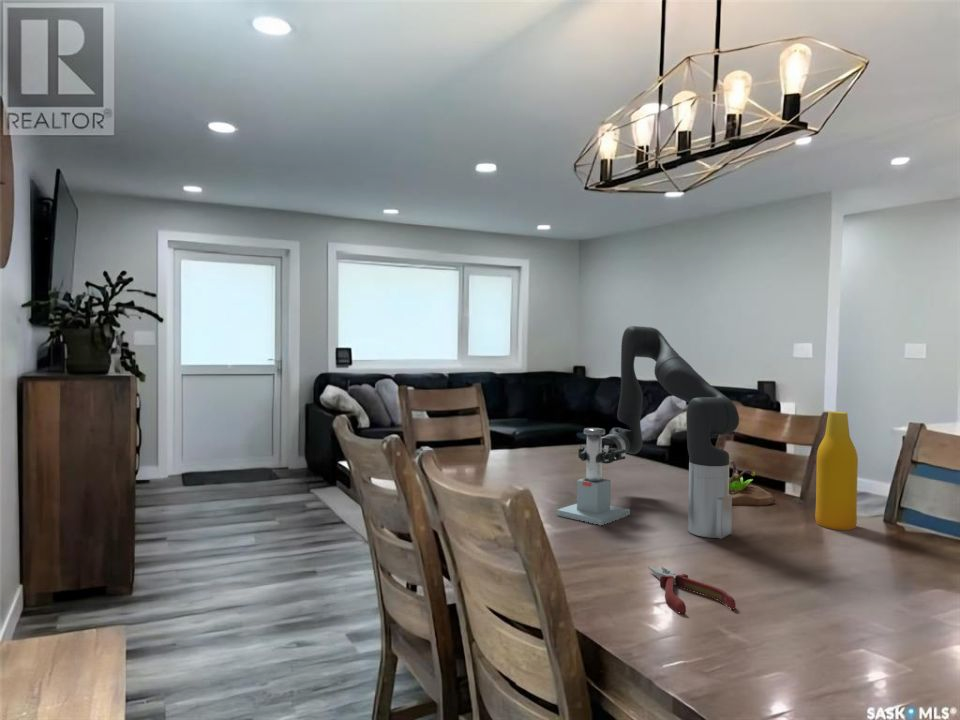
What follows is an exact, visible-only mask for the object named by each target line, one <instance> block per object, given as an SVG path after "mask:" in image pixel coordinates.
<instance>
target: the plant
mask: <svg viewBox="0 0 960 720" xmlns="http://www.w3.org/2000/svg"><path fill="white" fill-rule="evenodd" d="M729 466H732V476H731V477H730V476H729V494H730V495H732V506H735V505H736V506H737V505H738V506H739V505H740V506H745V505H746V506H768V505H771V504H774V503H775V502H774V500H775V499H774V498H775V497H774V496H773V494H772V493H771V492H769V491H767V490H765V489H764V488H762V487H760V486H758V485H755V484H754V483H752V481H753V480H754V479H753V478H750V479H747V480H745V481H744V478H743V475H744V474H746V473H749V474H750V476H752V477H756V472H755V471H754V470H752V469H745V470H743V471H742V472H740V473H739V469H737V466H736V463H735V461H734V460H733V459H731V460H729Z"/></svg>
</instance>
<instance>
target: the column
mask: <svg viewBox="0 0 960 720" xmlns="http://www.w3.org/2000/svg"><path fill="white" fill-rule="evenodd" d="M583 435H586V449H587V460H586V464H585V465H586V466H585V467H586V470H585V471H586V475H585V478H586V481H589V482H594V483H598V482H601V478H602V467H603V466H602V464H603V463H602V462H598V454H599V453H602V437H603V436H606V429H605V428H600V427H585V428H584V429H583Z"/></svg>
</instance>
